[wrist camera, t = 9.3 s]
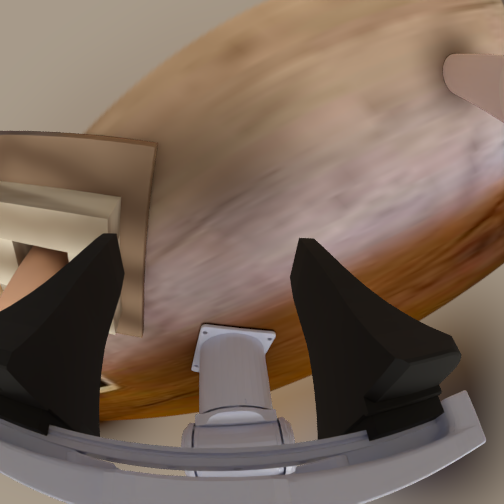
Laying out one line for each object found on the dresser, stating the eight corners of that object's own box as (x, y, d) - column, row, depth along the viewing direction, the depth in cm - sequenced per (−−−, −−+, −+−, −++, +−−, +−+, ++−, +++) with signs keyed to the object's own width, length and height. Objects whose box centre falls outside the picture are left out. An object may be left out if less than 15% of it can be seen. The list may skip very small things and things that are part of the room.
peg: (78, 271, 22) (47, 344, 16) (42, 262, 21) (5, 330, 15) (75, 234, 20) (33, 309, 14) (36, 226, 19) (-11, 293, 12)
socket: (143, 330, 29) (138, 361, 26) (20, 301, 25) (7, 327, 22) (157, 142, 18) (143, 162, 14) (-14, 131, 14) (-44, 148, 11)
